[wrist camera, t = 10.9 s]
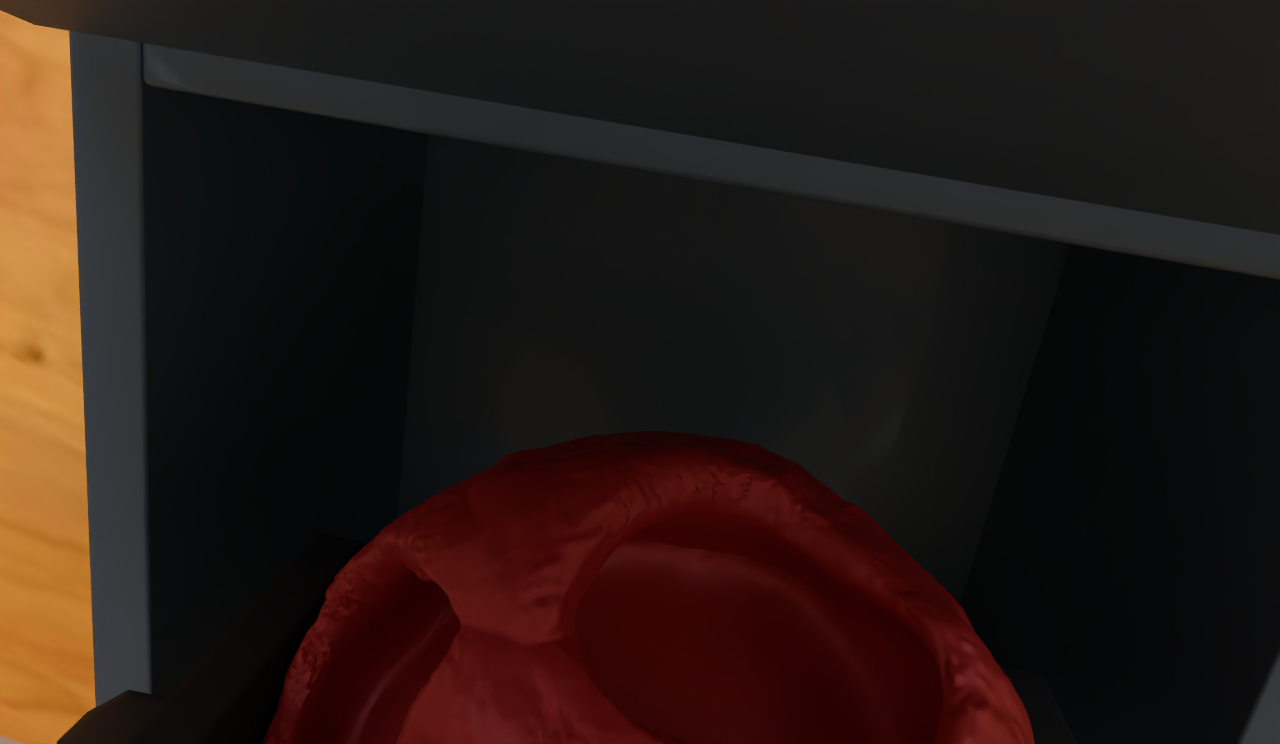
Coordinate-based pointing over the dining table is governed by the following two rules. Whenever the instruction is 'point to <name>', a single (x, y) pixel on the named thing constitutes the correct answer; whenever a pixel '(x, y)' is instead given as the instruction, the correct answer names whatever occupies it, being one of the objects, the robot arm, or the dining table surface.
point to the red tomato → (642, 614)
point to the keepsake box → (664, 364)
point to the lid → (822, 78)
